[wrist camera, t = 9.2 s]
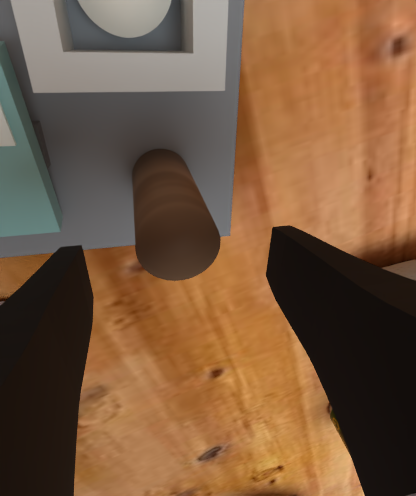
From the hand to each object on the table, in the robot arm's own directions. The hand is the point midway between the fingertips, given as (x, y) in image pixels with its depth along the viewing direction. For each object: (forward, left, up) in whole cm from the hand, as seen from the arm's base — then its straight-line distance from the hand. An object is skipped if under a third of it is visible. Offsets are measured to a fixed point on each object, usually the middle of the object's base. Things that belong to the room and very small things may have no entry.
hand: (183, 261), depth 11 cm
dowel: (0, 0, -8) cm, 8 cm away
